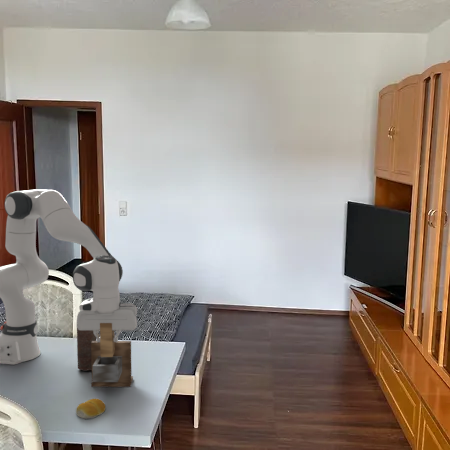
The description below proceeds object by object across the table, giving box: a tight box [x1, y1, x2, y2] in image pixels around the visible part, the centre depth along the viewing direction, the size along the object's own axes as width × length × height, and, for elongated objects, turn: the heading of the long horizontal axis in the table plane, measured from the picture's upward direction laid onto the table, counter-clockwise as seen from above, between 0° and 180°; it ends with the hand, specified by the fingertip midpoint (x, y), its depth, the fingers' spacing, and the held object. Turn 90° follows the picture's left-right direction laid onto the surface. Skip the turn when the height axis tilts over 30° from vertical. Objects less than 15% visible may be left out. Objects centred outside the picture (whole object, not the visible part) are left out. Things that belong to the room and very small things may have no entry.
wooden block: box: [99, 323, 115, 357], centre depth 168 cm, size 4×4×12 cm
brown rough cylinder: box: [76, 328, 97, 372], centre depth 188 cm, size 8×7×20 cm
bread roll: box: [75, 398, 106, 420], centre depth 158 cm, size 8×9×4 cm
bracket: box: [91, 340, 134, 388], centre depth 173 cm, size 14×15×16 cm
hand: (107, 341), depth 168 cm, fingers closed on wooden block, 4 cm apart
